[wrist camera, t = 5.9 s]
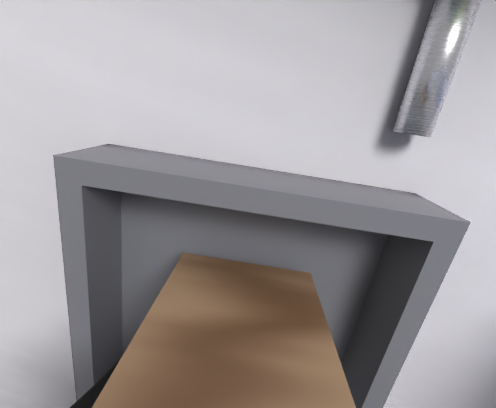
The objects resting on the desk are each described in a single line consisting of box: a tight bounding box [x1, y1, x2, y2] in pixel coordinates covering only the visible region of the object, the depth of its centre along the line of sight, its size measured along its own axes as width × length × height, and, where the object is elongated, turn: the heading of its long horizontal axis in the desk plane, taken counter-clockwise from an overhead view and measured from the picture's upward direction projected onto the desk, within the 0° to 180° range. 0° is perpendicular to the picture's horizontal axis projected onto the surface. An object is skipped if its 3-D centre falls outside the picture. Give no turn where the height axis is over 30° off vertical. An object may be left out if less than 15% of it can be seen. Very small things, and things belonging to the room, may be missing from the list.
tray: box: [53, 144, 470, 408], centre depth 11 cm, size 13×13×3 cm
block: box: [92, 253, 356, 408], centre depth 8 cm, size 5×5×6 cm
